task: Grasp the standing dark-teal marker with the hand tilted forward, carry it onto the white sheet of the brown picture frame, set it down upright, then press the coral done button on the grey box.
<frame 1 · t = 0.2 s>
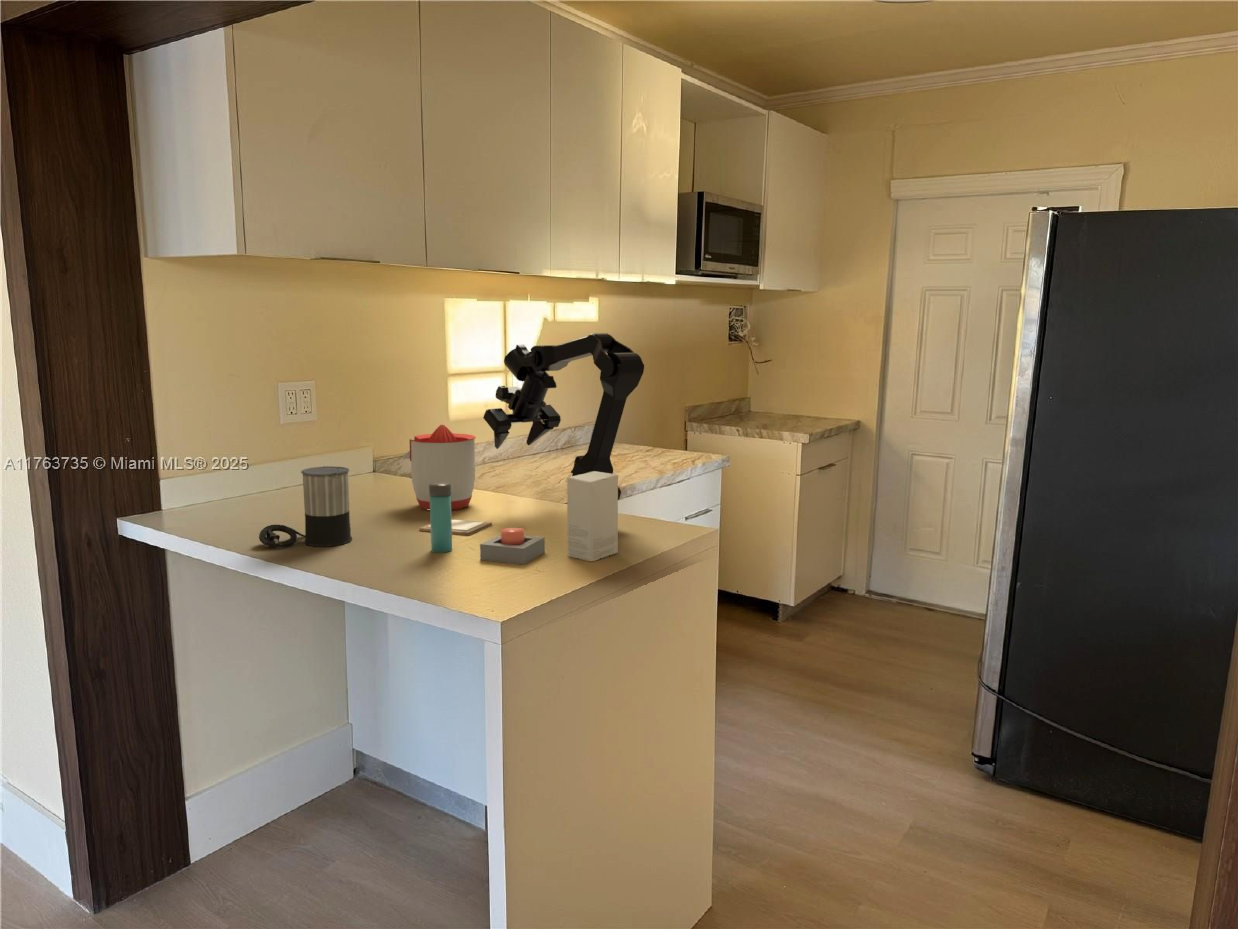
hand: (512, 445, 204), 15 cm above the table, tool tilted 35°, fingers open, 9 cm apart
milk frother: (307, 544, 171), on the table
button box: (513, 556, 162), on the table
done button: (512, 538, 161), point 3 cm above the table, slide at 0.0 cm
brown picture frame: (456, 527, 184), on the table
citrus juicer: (440, 507, 206), on the table
skincare box: (593, 556, 163), on the table
marker: (441, 550, 166), on the table
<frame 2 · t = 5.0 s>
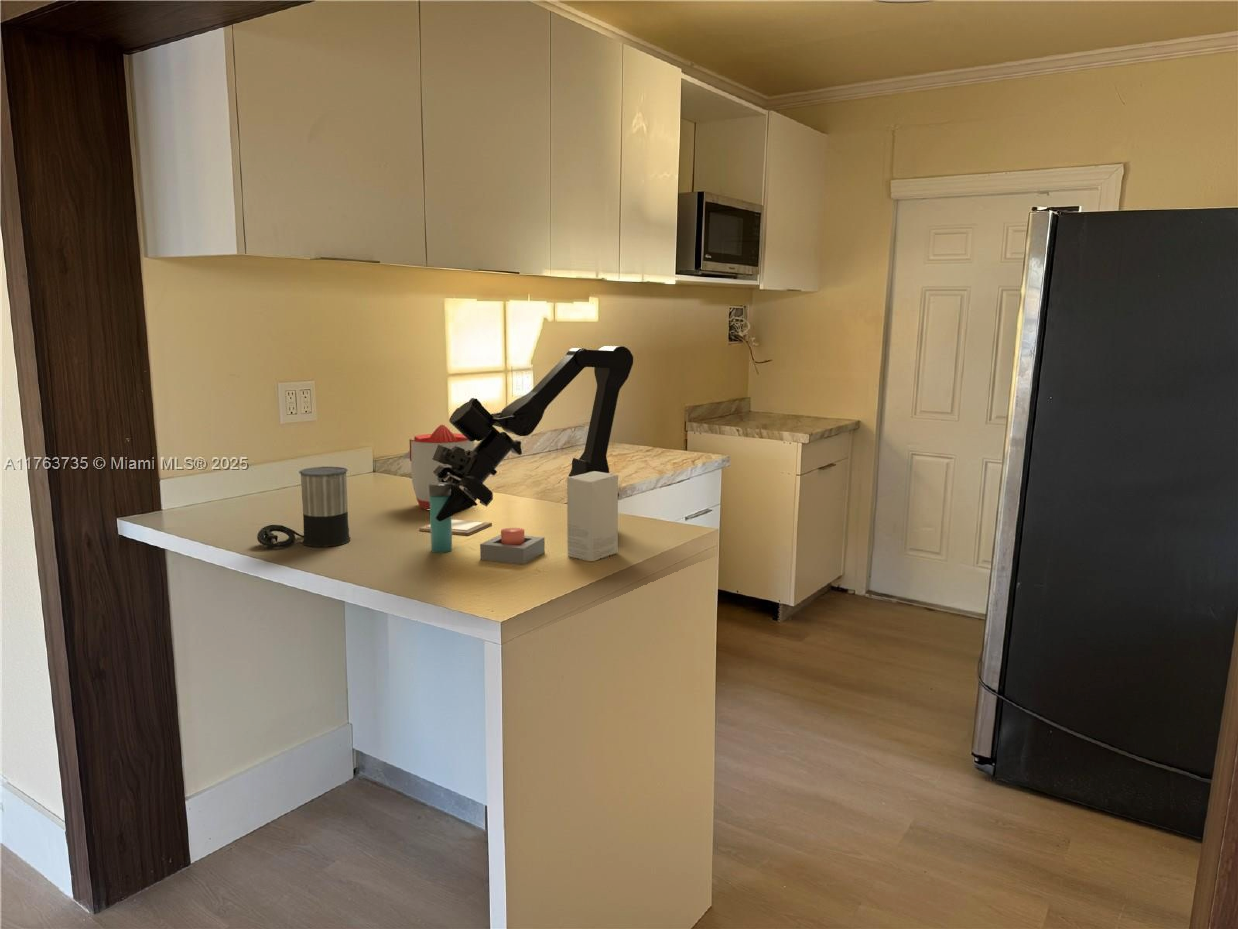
hand: (433, 517, 164), 7 cm above the table, tool tilted 45°, fingers closed on marker, 4 cm apart
marker: (441, 550, 166), on the table, touching gripper
everything else where it was.
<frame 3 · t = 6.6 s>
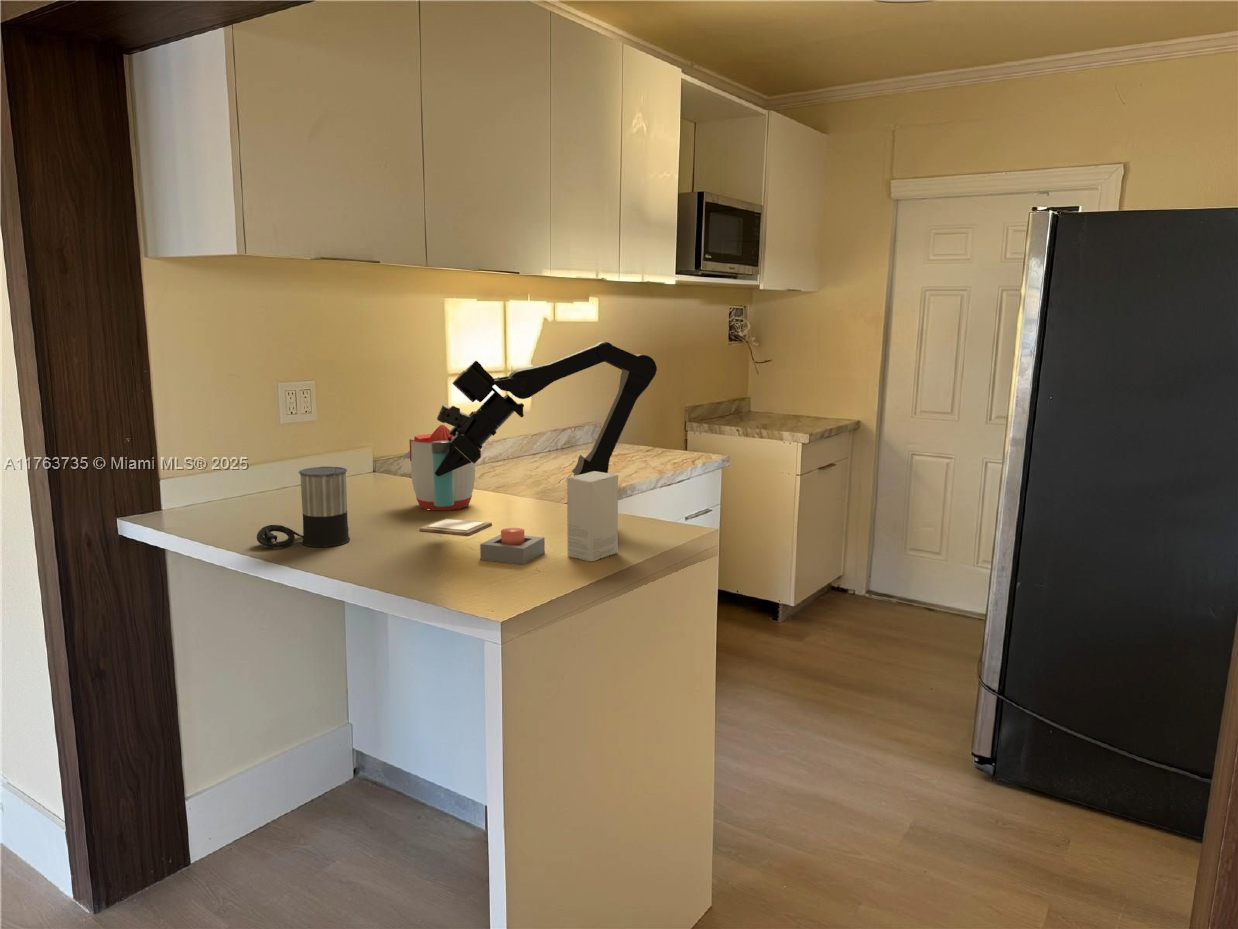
hand: (436, 473, 174), 13 cm above the table, tool tilted 45°, fingers closed on marker, 4 cm apart
marker: (444, 504, 176), point 7 cm above the table, touching gripper
everything else where it was.
when the fingers open (8 cm above the table, at t = 8.3 s): marker drops 1 cm, resting on brown picture frame.
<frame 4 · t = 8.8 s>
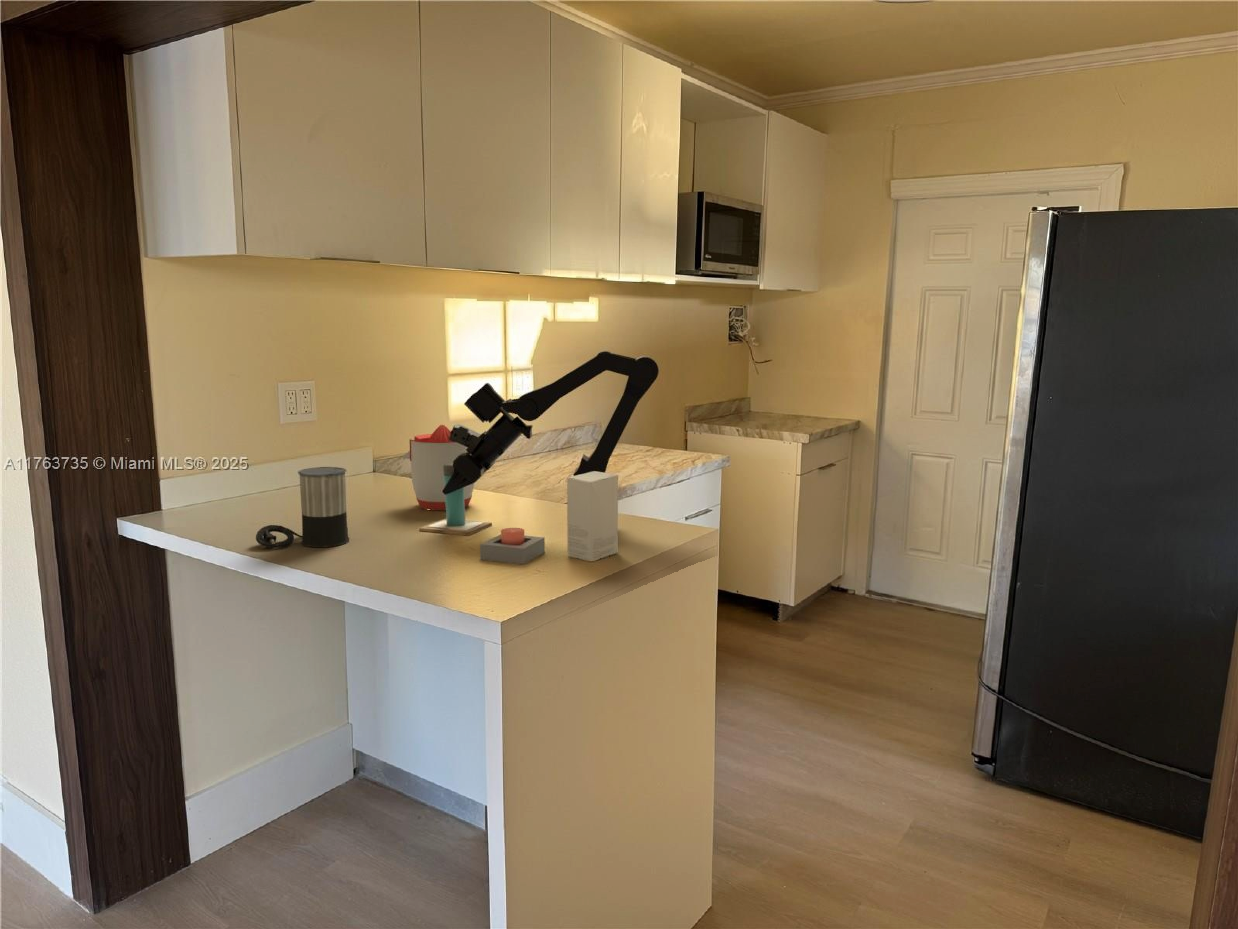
hand: (448, 489, 183), 9 cm above the table, tool tilted 45°, fingers open, 9 cm apart
marker: (456, 524, 184), point 1 cm above the table, touching brown picture frame
everything else where it was.
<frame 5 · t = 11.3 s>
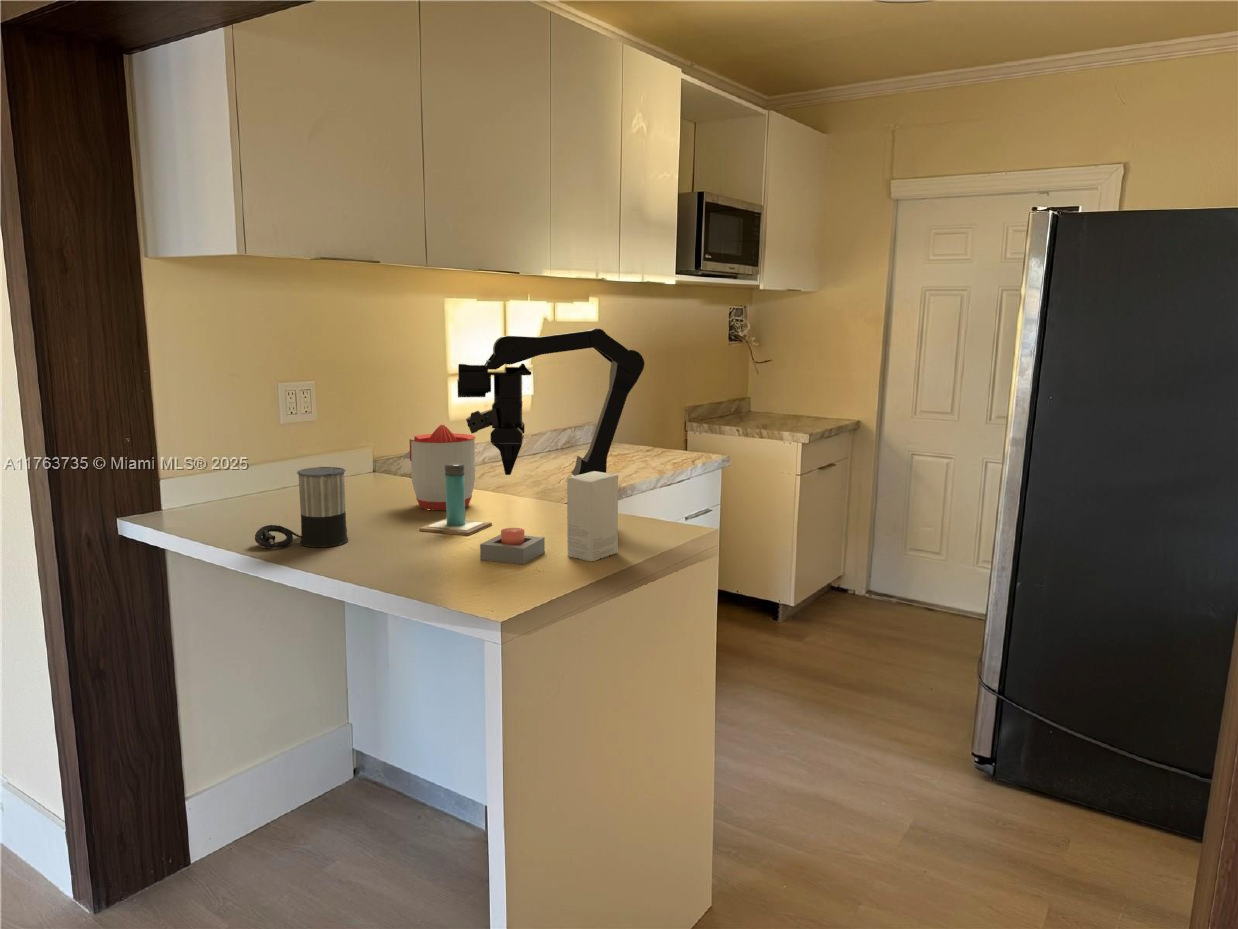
hand: (508, 472, 178), 13 cm above the table, tool pointing down, fingers open, 7 cm apart
nothing on the table moved.
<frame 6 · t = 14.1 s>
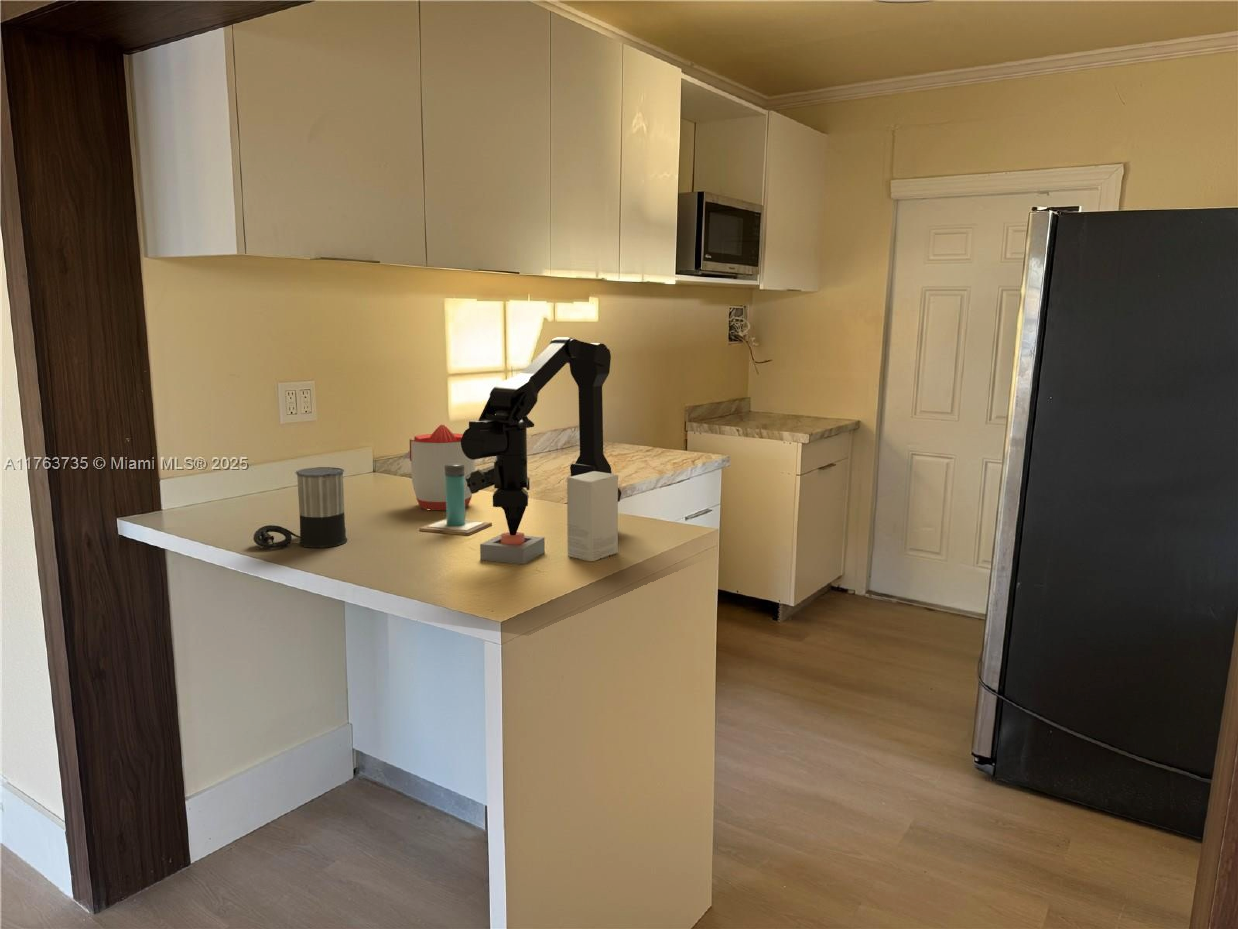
hand: (512, 534, 161), 4 cm above the table, tool pointing down, fingers closed, pressing on done button
done button: (512, 542, 161), point 3 cm above the table, slide at 0.8 cm, touching gripper
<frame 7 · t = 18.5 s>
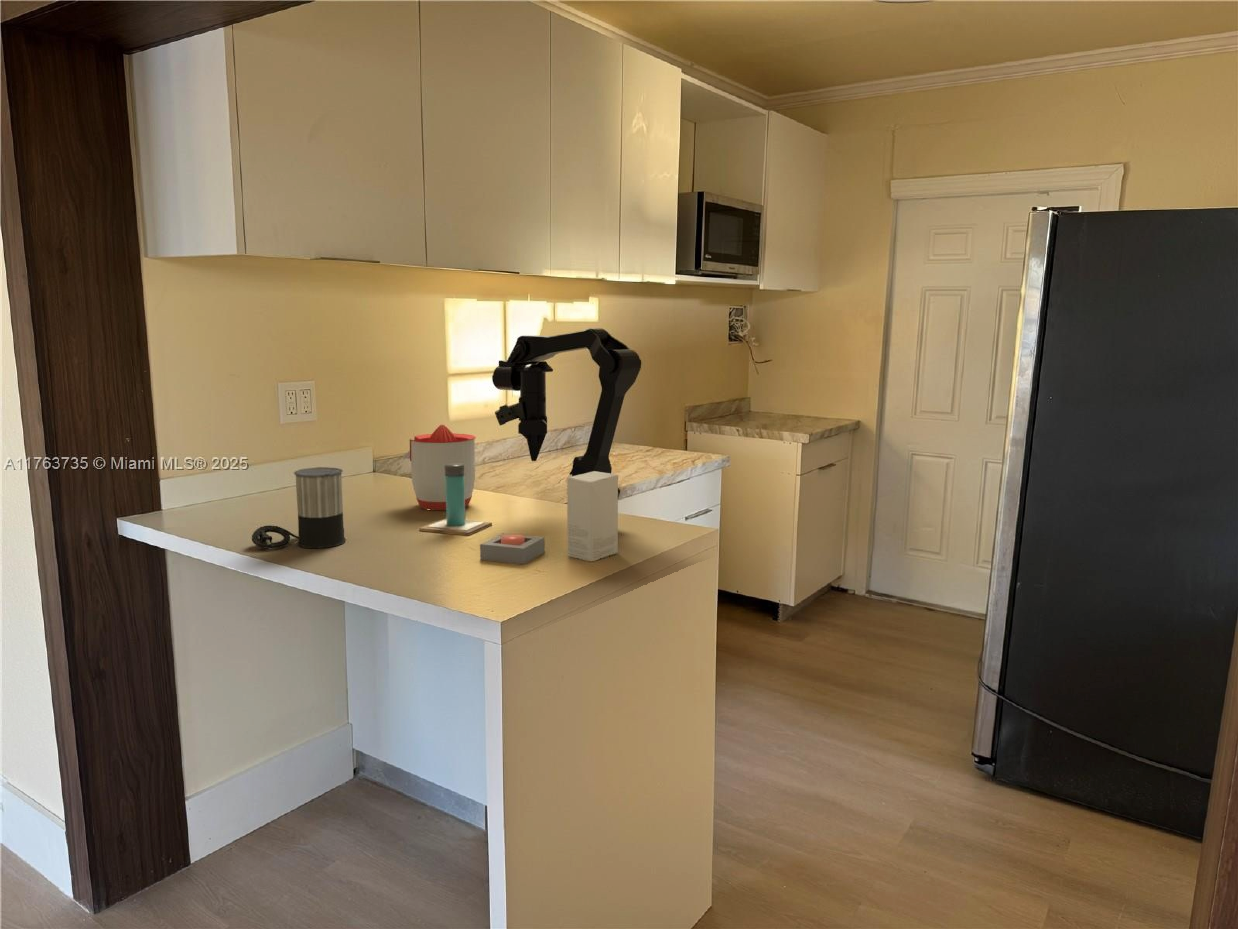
hand: (533, 460, 193), 13 cm above the table, tool pointing down, fingers closed
done button: (512, 545, 161), point 2 cm above the table, slide at 1.3 cm
at the end: marker inside the target area on the brown picture frame (0.0 cm from its centre), point 0.9 cm above the brown picture frame's base; marker tilted 2°; done button slide at 1.3 cm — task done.
